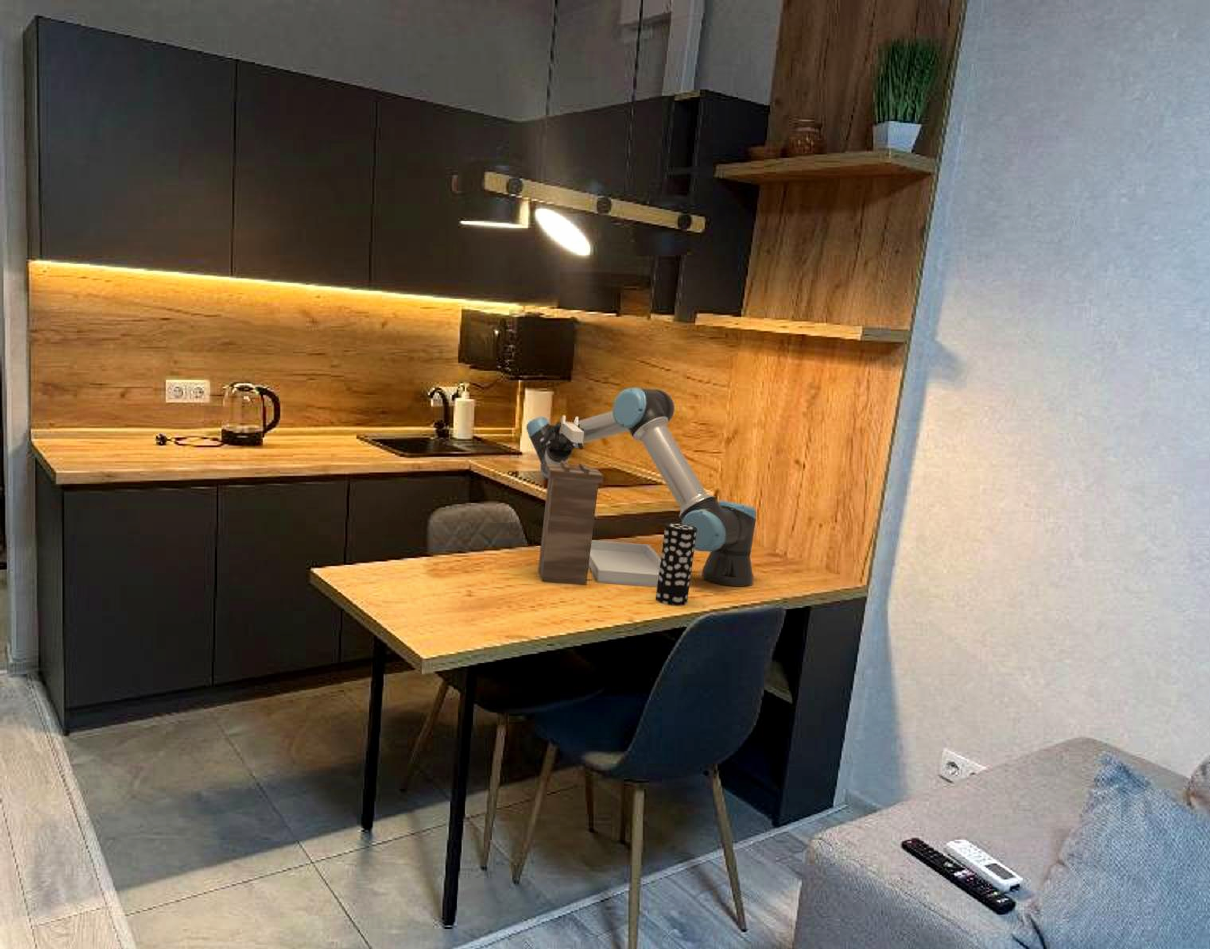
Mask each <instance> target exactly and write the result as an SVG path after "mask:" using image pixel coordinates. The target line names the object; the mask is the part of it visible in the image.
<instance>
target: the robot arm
mask: <svg viewBox="0 0 1210 949" xmlns="http://www.w3.org/2000/svg"><path fill="white" fill-rule="evenodd" d="M674 414H675V404H674V400H673V399H672V397H671V396H670V395H669V394H668V393H667V392H666V391H664V390H661V389H654V388H653V389H652V388H639V387H631V388H630V387H629V388H625V389H623V390H622V391H620V392H619V393H618V394H617V396H616V398H615V399H614V402H613V407H612V410H611V411H607V412H605V413H602V414H598V415H595V416H591V417H588V418H585V419H584V418H583V419H581V420H579V416H575V417H574V418H575V419H574V421H573V422H572V423H573V424H574V425H576V426H577V427H578V428H579V429H581V430H582V431H583V432H584V438H583V443H575V442H571V441H570V440H569V439H568V438H567V437H566V436H565V435H564V434H563V433H562V431H563V429H564V426H565V422H566V415H564V414H563V415H562V417H561V419H560V421H557V422H556V424H550V422H549V420H548V419H547V417H546V416H539V417H536V418H533V419H531V420H530V421H529V422H528V423H527V424H526V426H525V428H526V431H527V434H528V439H530V441H531V443H532V446H533V448H534V451H535V452H536V454H537V457H538V460H539V462H540V472H541V475H542V476H543V477H544V478H546V479H548V478H549V476H548V474H547V472H546V471H545V470H546V464H555V465H560V463H561V461H565V462H566V464H567V463H568V462H569V459H570V457H571V454H572V452H573V450H575V449H576V448H578V449H579V450H583V449H584V444H585V443H590V442H592V441H596V440H602V439H604V438H608V437H611V436H614V435H619V434H622V433H627V432H629V433H630V435H631V437H632V438H633V439H634V441H637V442H641V443H642V445H643V446H644V449H645V450H646V452H647V453H648V455H649V457H650V458H651V460H652V463H653V464H654V465H655V467H656V469H657V470H658V473H659V474H660V476H661V477H662V479H663V481H664V483H665V484H666V486H667V487H668V489H669V491H670V493H671V494H672V496H673V499H674V500H675V501H676V503H677V505H678V507H679V508H680V512H679V516H678V517H679V519H680V520H681V524H686V525H690V526H694V527H696V528H697V534H696V541H695V549H694V551H695V550H696V551H699V552H707V553H708V552H710V553H709V555H708V557H706V558H707V559H706V561H705V564H704V566H702V569H701V577H702V579H705V581H708V582H710V583H711V582H712V583H715V584H719V585H723V586H730V587H749V586H752V585H753V582H754V574H753V567H752V562H751V561H752V560H751V556H752V555H751V552H752V548H753V547H752V546H753V541H754V534H755V528H756V522H757V510H756V508H755V507H753V506H750V505H747V504H743V503H737V502H734V501H733V502H732V501H728V500H717V498H716V496H715V495H712V494H708V493H707V492H706V490H705V488H704V486H703V485H702V483H701V482H700V480H699V479H698V476H697V475H696V473H695V472H694V470H693V469H692V466H691V465H690V463H689V462H688V459H687V458H686V456H685V455H684V453H683V452H682V450H681V448H680V447H679V445H678V443H677V442H676V440H675V438H674V437H673V435H672V433H671V431H670V430H669V428H668V424H669V422H671V420H672V419H673V416H674ZM567 465H568V464H567Z"/></svg>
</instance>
